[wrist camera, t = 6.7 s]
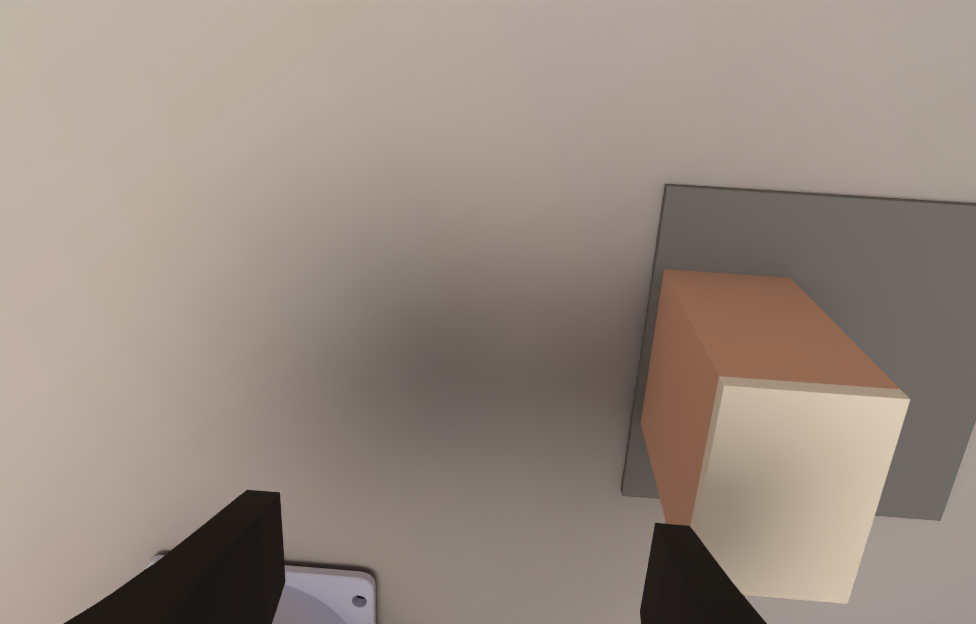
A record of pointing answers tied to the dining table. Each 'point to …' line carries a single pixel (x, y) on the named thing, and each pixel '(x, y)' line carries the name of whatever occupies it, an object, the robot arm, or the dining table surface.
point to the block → (767, 432)
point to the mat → (847, 308)
